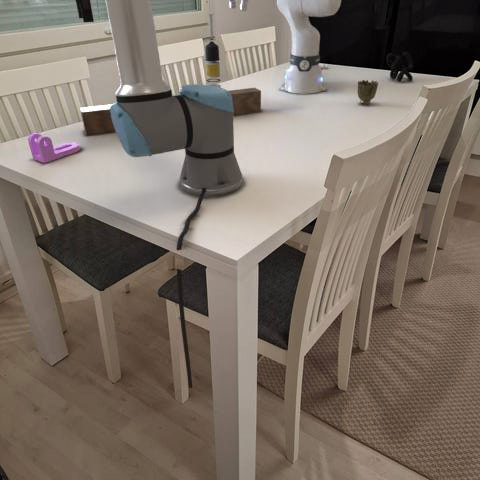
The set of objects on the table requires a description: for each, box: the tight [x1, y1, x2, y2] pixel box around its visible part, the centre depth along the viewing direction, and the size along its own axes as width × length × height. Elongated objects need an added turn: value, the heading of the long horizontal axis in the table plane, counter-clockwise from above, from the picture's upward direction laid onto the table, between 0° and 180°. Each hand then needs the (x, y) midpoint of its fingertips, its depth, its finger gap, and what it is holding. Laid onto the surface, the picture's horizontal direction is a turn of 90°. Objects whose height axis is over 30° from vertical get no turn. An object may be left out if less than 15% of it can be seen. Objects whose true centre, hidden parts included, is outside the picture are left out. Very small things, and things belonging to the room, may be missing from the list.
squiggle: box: [385, 51, 414, 83], centre depth 198 cm, size 11×10×15 cm
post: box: [79, 87, 262, 136], centre depth 153 cm, size 62×5×8 cm, turn 112°
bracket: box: [27, 132, 81, 164], centre depth 127 cm, size 13×6×7 cm, turn 143°
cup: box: [357, 79, 379, 106], centre depth 166 cm, size 8×7×8 cm
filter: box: [204, 13, 222, 88], centre depth 175 cm, size 6×6×30 cm
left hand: (86, 20), depth 129 cm, fingers open, 13 cm apart
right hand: (238, 9), depth 144 cm, fingers open, 8 cm apart
